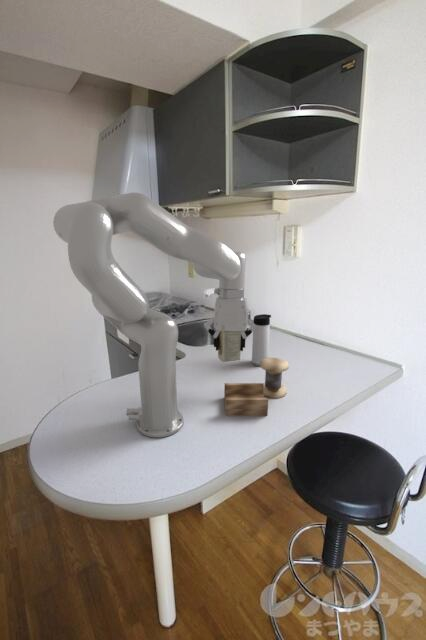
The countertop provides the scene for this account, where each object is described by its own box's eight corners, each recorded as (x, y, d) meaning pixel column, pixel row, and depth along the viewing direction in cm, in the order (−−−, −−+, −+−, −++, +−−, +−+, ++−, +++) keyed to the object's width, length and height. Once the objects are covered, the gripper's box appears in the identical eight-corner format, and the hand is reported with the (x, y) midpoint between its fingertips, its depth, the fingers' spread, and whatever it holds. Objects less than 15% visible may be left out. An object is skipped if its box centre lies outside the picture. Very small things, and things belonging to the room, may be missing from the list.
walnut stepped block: (225, 415, 91) (225, 400, 89) (224, 397, 100) (224, 383, 99) (267, 415, 91) (268, 400, 89) (262, 397, 100) (262, 383, 99)
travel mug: (268, 367, 122) (270, 317, 116) (251, 366, 123) (252, 316, 117) (268, 361, 127) (271, 313, 122) (252, 359, 129) (254, 312, 123)
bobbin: (260, 398, 100) (262, 369, 97) (257, 384, 108) (258, 357, 105) (289, 398, 100) (291, 369, 97) (283, 384, 108) (285, 357, 105)
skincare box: (235, 355, 103) (237, 319, 100) (240, 360, 99) (242, 323, 96) (216, 357, 101) (217, 320, 98) (221, 362, 97) (222, 324, 94)
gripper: (201, 295, 91) (201, 353, 96) (262, 296, 91) (258, 354, 96) (202, 290, 98) (201, 344, 103) (258, 292, 98) (255, 346, 103)
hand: (229, 349), depth 99 cm, fingers closed on skincare box, 7 cm apart
